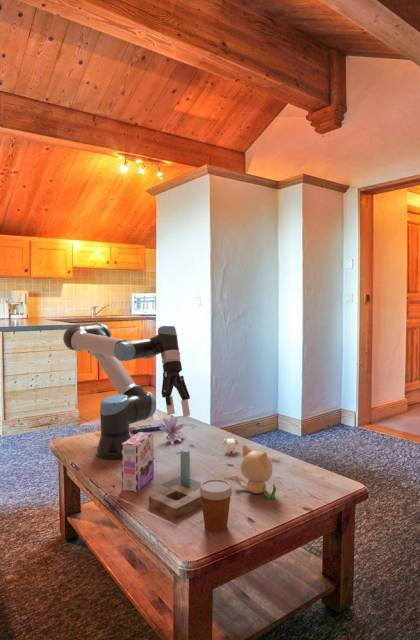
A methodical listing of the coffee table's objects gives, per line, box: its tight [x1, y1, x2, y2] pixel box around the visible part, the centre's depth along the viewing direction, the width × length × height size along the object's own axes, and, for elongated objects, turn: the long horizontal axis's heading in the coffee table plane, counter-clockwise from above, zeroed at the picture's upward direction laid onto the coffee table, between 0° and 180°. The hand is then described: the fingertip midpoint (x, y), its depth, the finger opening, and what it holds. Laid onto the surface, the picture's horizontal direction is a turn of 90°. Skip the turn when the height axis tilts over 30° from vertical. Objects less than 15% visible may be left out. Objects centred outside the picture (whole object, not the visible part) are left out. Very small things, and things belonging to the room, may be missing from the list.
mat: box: [160, 475, 202, 491], centre depth 152 cm, size 12×10×1 cm
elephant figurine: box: [222, 437, 240, 455], centre depth 184 cm, size 7×8×6 cm
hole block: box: [148, 484, 202, 520], centre depth 137 cm, size 12×12×4 cm
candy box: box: [121, 431, 155, 493], centre depth 153 cm, size 14×6×16 cm, turn 163°
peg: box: [179, 449, 191, 487], centre depth 151 cm, size 3×3×12 cm
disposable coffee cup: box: [198, 478, 233, 533], centre depth 125 cm, size 10×10×12 cm
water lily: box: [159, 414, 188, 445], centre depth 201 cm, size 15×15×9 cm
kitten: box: [232, 444, 277, 500], centre depth 147 cm, size 15×10×15 cm
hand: (179, 415), depth 171 cm, fingers open, 13 cm apart
